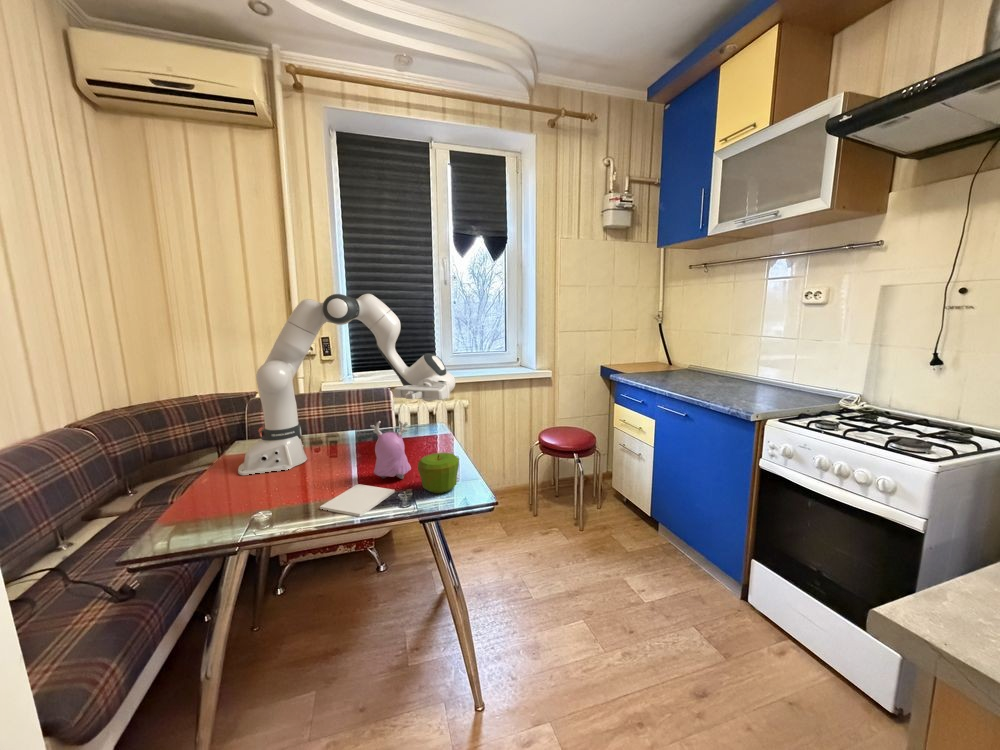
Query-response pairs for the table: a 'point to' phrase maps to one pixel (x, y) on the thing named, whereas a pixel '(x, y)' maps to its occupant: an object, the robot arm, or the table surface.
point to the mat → (357, 500)
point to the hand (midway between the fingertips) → (409, 396)
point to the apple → (438, 472)
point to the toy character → (390, 453)
